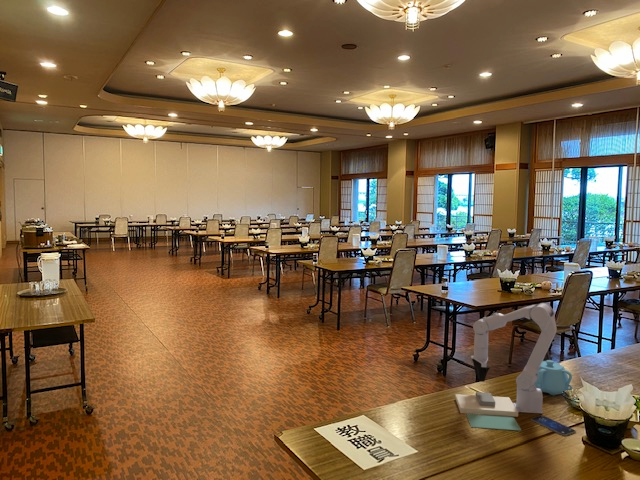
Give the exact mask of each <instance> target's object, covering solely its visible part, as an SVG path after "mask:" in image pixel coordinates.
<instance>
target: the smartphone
mask: <svg viewBox="0 0 640 480" xmlns="http://www.w3.org/2000/svg"><path fill="white" fill-rule="evenodd" d="M530 421H531V422H533V423H535V422H536V423H535V424H537V425H539V424H540V425H539V426H541V427H543V428H545V427H546V428H545V429H547V428H548V430H549V431H551V432H553V433H555V434H558V435H560V436H561V437H569V436H571V435H575V434H576V433H577V431H576V430H574V429H573V428H571V427H569V426H567V425H565V424H562V423H561V422H558V421H557V420H554V419H552V418H549V417H547V416H545V415H543V414H542V415H538V416H534V417H531V418H530Z"/></svg>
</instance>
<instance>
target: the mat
mask: <svg viewBox="0 0 640 480" xmlns="http://www.w3.org/2000/svg"><path fill="white" fill-rule="evenodd" d="M465 415H466V418H467V420H468V423H469V426H470V428H474V429H476V428H477V429H485V430H486V429H487V430H488V429H489V430H502V431H503V430H504V431H515V432H516V431H517V432H521V431H522V429H521V427H520V425H519V423H518V422H517V420H516V418H515V417H513V416H498V415H483V414H468V413H465Z"/></svg>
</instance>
